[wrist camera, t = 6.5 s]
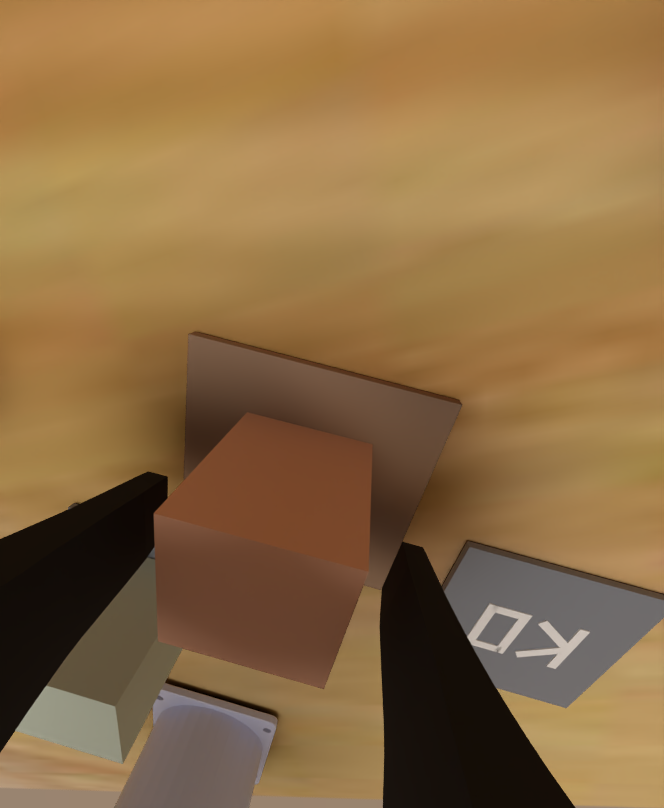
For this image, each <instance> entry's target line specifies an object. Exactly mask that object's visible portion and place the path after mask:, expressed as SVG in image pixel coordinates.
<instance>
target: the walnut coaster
mask: <svg viewBox="0 0 664 808" xmlns="http://www.w3.org/2000/svg"><path fill="white" fill-rule="evenodd" d="M461 407H462V404H461V402H460V401H459V400H456V399H452V398H449V397H445V396H441V395H437V394H433V393H429V392H425V391H422V390H418V389H414V388H410V387H406V386H402V385H398V384H395V383H391V382H387V381H383V380H379V379H375V378H372V377H368V376H364V375H360V374H356V373H352V372H348V371H345V370H341V369H337V368H333V367H329V366H325V365H321V364H318V363H314V362H310V361H306V360H302V359H298V358H295V357H291V356H287V355H283V354H279V353H275V352H271V351H268V350H264V349H260V348H256V347H252V346H248V345H244V344H241V343H237V342H233V341H229V340H225V339H221V338H218V337H214V336H210V335H206V334H202V333H198V332H193V333H190V334H188V365H187V396H186V426H185V457H184V480H185V479H186V478H187V477H188V476H189V475H190V473H191V472H192V471H193V470H194V469H195V468H196V467H197V466H198V465H199V464H200V463H201V462H202V460H203V459H204V458H205V457H206V456H207V455H208V454H209V453H210V452H211V451H212V450H213V449H214V447H215V446H216V445H217V444H218V443H219V442H220V441H221V440H222V439H223V438H224V437H225V436H226V434H227V433H228V432H229V431H230V430H231V429H232V428H233V427H234V426H235V425H236V424H237V423H238V421H239V420H240V419H241V418H242V417H243V416H244V415H245V414H246V413H247V412H248V413H252V414H256V415H260V416H264V417H268V418H272V419H276V420H280V421H283V422H287V423H291V424H295V425H299V426H303V427H307V428H311V429H315V430H319V431H323V432H327V433H330V434H334V435H338V436H342V437H346V438H350V439H354V440H358V441H362V442H366V443H370V444H373V448H372V480H371V512H370V544H369V572H368V575H367V577H366V580H365V583H364V585H365V586H368V587H372V588H376V589H379V590H381V588H382V586H383V584H384V581H385V579H386V577H387V575H388V572H389V570H390V568H391V566H392V563H393V561H394V559H395V557H396V554H397V552H398V550H399V547H400V545H401V543H402V541H403V538H404V536H405V534H406V532H407V529H408V527H409V525H410V522H411V520H412V518H413V516H414V513H415V511H416V509H417V507H418V504H419V502H420V500H421V498H422V495H423V493H424V491H425V488H426V486H427V484H428V482H429V479H430V477H431V475H432V473H433V470H434V468H435V466H436V463H437V461H438V459H439V457H440V454H441V452H442V450H443V448H444V445H445V443H446V441H447V439H448V436H449V434H450V432H451V429H452V427H453V425H454V423H455V420H456V418H457V416H458V414H459V411H460V409H461Z"/></svg>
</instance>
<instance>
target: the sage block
mask: <svg viewBox="0 0 664 808" xmlns="http://www.w3.org/2000/svg"><path fill="white" fill-rule="evenodd" d="M182 649H183V648H179V647H176V646H173V645H169V644H166V643H162V642H159V641H158V629H157V600H156V570H155V559H151V558H148V557H147V559H146V560H145V561H144V562H143V564H142V565H141V566H140V567H139V569H138V570H137V571H136V572H135V574H134V575H133V576H132V577H131V579H130V580H129V581H128V582H127V583H126V585H125V586H124V587H123V588H122V590H121V591H120V592H119V593H118V594H117V596H116V597H115V598H114V599H113V600H112V602H111V603H110V604H109V605H108V606H107V608H106V609H105V610H104V611H103V613H102V614H101V615H100V616H99V617H98V619H97V620H96V621H95V622H94V623H93V625H92V626H91V627H90V628H89V629H88V631H87V632H86V633H85V634H84V636H83V637H82V638H81V639H80V640H79V642H78V643H77V644H76V646H75V647H74V648H73V650H72V651H71V652H70V653H69V655H68V656H67V657H66V659H65V660H64V661H63V663H62V664H61V666H60V667H59V668H58V670H57V671H56V673H55V674H54V676H53V677H52V678H51V680H50V681H49V683H48V684H47V685H46V687H45V688H44V690H43V691H42V692H41V694H40V695H39V697H38V698H37V700H36V701H35V702H34V704H33V705H32V707H31V708H30V710H29V711H28V713H27V714H26V715H25V717H24V718H23V720H22V721H21V723H20V724H19V726H18V727H17V729H16V730H15V731H18V732H21V733H24V734H28V735H31V736H34V737H37V738H40V739H44V740H47V741H50V742H53V743H57V744H60V745H63V746H66V747H69V748H73V749H76V750H79V751H82V752H86V753H89V754H92V755H95V756H99V757H102V758H105V759H108V760H111V761H115V762H118V763H121V764H123V763H124V761H125V759H126V757H127V755H128V753H129V751H130V749H131V747H132V745H133V743H134V741H135V740H136V738H137V736H138V734H139V732H140V730H141V728H142V726H143V724H144V722H145V720H146V718H147V716H148V714H149V712H150V711H151V709H152V707H153V705H154V703H155V701H156V699H157V697H158V695H159V693H160V691H161V689H162V687H163V685H164V683H165V681H166V680H167V678H168V676H169V674H170V672H171V670H172V668H173V666H174V664H175V662H176V660H177V658H178V656H179V654H180V652H181V651H182Z"/></svg>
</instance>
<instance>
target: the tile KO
mask: <svg viewBox="0 0 664 808" xmlns="http://www.w3.org/2000/svg"><path fill="white" fill-rule="evenodd" d="M442 588H443V590H444V593H445V595H446V597H447V599H448V601H449V603H450V605H451V607H452V609H453V611H454V613H455V614H456V616H457V618H458V620H459V622H460V624H461V626H462V628H463V630H464V632H465V634H466V635H467V637H468V639H469V641H470V643H471V645H472V647H473V648H474V650H475V652H476V654H477V656H478V657H479V659H480V661H481V663H482V664H483V666H484V668H485V670H486V671H487V673H488V675H489V677H490V678H491V680H492V682H493V684H494V685H495V687H496V688H499V689H502V690H506V691H509V692H513V693H516V694H519V695H523V696H526V697H530V698H533V699H537V700H540V701H544V702H547V703H551V704H554V705H557V706H561V707H564V708H567V707H568V706H569V705H570V704H571V703H572V702H573V701H575V700H576V699H577V698H578V697H579V696H580V695H581V694H582V693H583V692H584V691H585V690H586V689H587V688H589V687H590V686H591V685H592V684H593V683H594V682H595V681H596V680H597V679H598V678H599V677H600V676H601V675H603V674H604V673H605V672H606V671H607V670H608V669H609V668H610V667H611V666H612V665H613V664H614V663H615V662H617V661H618V660H619V659H620V658H621V657H622V656H623V655H624V654H625V653H626V652H627V651H628V650H629V649H631V648H632V647H633V646H634V645H635V644H636V643H637V642H638V641H639V640H640V639H641V638H642V637H643V636H645V635H646V634H647V633H648V632H649V631H650V630H651V629H652V628H653V627H654V626H655V625H656V624H657V623H659V622H660V621H661V620H662V619H663V618H664V595H663V594H659V593H656V592H652V591H648V590H645V589H641V588H637V587H634V586H630V585H627V584H623V583H619V582H616V581H612V580H608V579H605V578H601V577H597V576H594V575H590V574H586V573H583V572H579V571H576V570H572V569H568V568H565V567H561V566H557V565H554V564H550V563H546V562H543V561H539V560H535V559H532V558H528V557H525V556H521V555H517V554H514V553H510V552H506V551H503V550H499V549H495V548H492V547H488V546H485V545H481V544H477V543H474V542H470V541H467V543H466V545H465V546H464V548H463V550H462V552H461V553H460V555H459V557H458V559H457V561H456V562H455V564H454V566H453V568H452V569H451V571H450V573H449V575H448V577H447V578H446V580H445V582H444V584H443V585H442Z"/></svg>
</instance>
